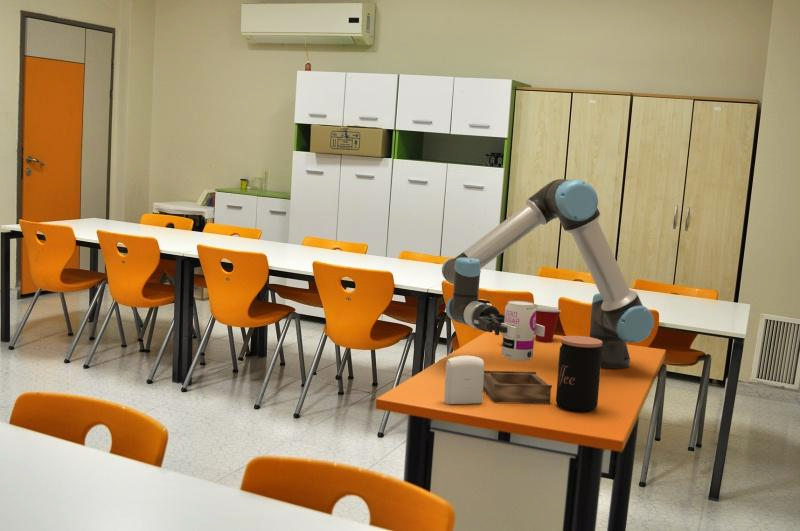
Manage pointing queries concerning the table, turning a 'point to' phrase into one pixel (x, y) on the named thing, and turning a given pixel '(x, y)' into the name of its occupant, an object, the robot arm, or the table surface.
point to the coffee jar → (578, 373)
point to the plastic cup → (547, 323)
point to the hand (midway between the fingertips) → (529, 332)
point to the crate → (516, 387)
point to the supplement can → (519, 330)
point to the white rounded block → (464, 380)
